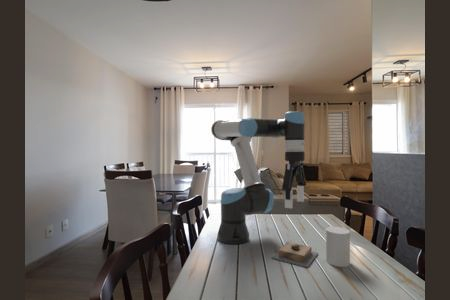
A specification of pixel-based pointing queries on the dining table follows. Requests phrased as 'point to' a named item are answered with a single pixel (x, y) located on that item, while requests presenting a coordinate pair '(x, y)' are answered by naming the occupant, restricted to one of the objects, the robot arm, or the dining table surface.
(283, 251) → the lid
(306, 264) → the mat
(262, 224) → the dining table surface
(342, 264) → the cup
